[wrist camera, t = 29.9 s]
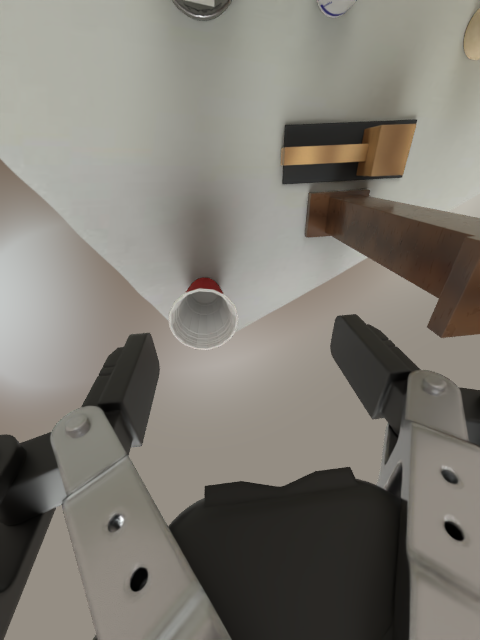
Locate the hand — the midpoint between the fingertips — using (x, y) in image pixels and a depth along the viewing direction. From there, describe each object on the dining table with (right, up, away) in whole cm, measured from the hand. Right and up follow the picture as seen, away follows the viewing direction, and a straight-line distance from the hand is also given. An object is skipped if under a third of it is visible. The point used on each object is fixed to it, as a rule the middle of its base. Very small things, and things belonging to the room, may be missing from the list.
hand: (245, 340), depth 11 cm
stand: (+16, +20, +32) cm, 41 cm away
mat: (+16, +27, +28) cm, 42 cm away
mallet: (+15, +26, +27) cm, 41 cm away
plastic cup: (-7, +7, +38) cm, 39 cm away
